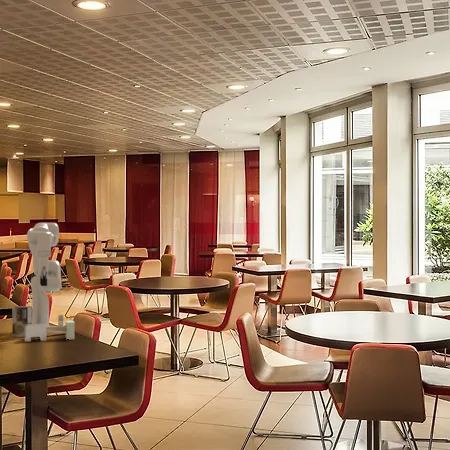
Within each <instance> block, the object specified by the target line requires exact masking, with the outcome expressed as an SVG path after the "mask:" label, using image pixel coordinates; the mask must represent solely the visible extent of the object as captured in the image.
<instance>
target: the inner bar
mask: <svg viewBox="0 0 450 450" xmlns="http://www.w3.org/2000/svg"><path fill="white" fill-rule="evenodd" d="M57 319H58V320H57V321H58V323H57V324H58V325H49V326H47V335H48V334H49V335H50V334H51V335H53V334H55V335H57V334H66V333H67V325H66V324H65V325H64V314H58V317H57Z"/></svg>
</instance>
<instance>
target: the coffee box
mask: <svg viewBox="0 0 450 450" xmlns="http://www.w3.org/2000/svg"><path fill="white" fill-rule="evenodd" d="M11 309H12V310H11V312H12V313H11V314H12V315H11V316H12V323H11V324H12V330H11V331H12V334H11V335H12V337H14V338H15V337H16V338H17V337H18V338H21V337H24V338H25V324H32V306H28V305H27V306H21V305H20V306H17V305H16V306H14V307H12V308H11Z"/></svg>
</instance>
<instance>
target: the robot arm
mask: <svg viewBox="0 0 450 450" xmlns="http://www.w3.org/2000/svg"><path fill="white" fill-rule="evenodd" d="M59 236H60V228H59V225H58V224H57V223H56V222H38V223H36V224H35V225H34V226H33V227H32V228H30V229H28V231H27V234H26V240H27V243H28V247H29V250H30V253H31V255H32V271H33V274H34V275H35V276H33V277H31V279H30V287H31V297H32V299H31V300H32V303H31V304H32V324H46V325H47V326H50V319H49V318H50V299H49V296H48V295H47V294H46V292H59V291H60V290H61V289H62V272H61V265H60V264H61V263H60V262H59V261H58V260H53V259H52V260H51V259H50V260H49V258H51V256H52V247H56V246H57V245H58V243H59Z"/></svg>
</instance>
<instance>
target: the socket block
mask: <svg viewBox="0 0 450 450" xmlns="http://www.w3.org/2000/svg"><path fill="white" fill-rule="evenodd" d="M75 324H76V323H75V321H74V320H65V325H67V333H65V339H66V340H67V339H69V340H75V331H76V330H75V329H76V328H75Z"/></svg>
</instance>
